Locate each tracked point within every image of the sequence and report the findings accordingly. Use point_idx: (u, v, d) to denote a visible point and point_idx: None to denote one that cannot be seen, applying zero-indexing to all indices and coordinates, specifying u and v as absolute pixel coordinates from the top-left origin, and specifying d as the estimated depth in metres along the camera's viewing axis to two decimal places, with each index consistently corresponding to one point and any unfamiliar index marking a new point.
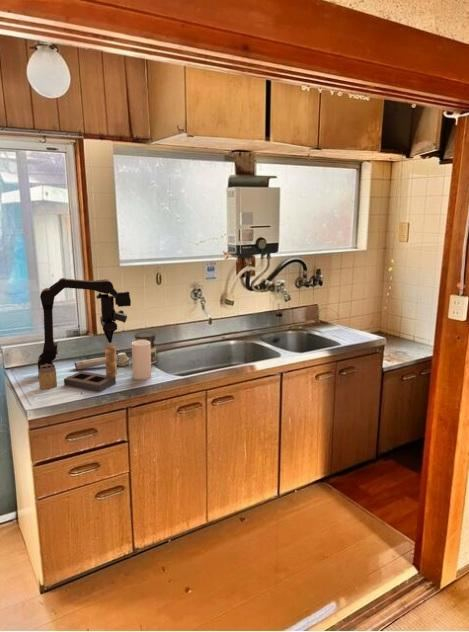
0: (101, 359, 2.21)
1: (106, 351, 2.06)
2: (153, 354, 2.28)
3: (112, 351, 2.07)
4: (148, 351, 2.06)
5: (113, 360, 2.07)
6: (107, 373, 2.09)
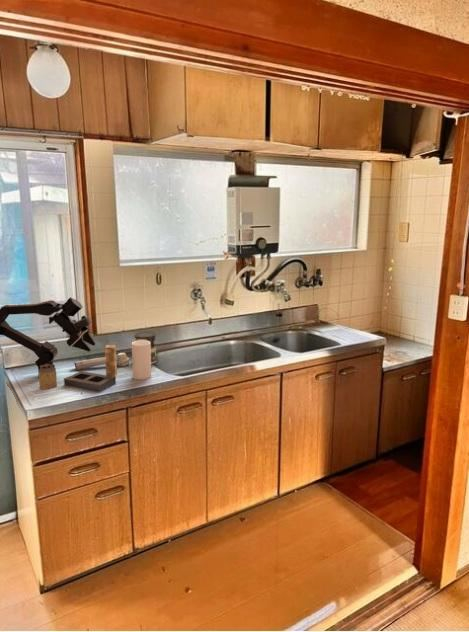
0: (101, 359, 2.21)
1: (106, 351, 2.06)
2: (153, 354, 2.28)
3: (112, 351, 2.07)
4: (148, 351, 2.06)
5: (113, 360, 2.07)
6: (107, 373, 2.09)
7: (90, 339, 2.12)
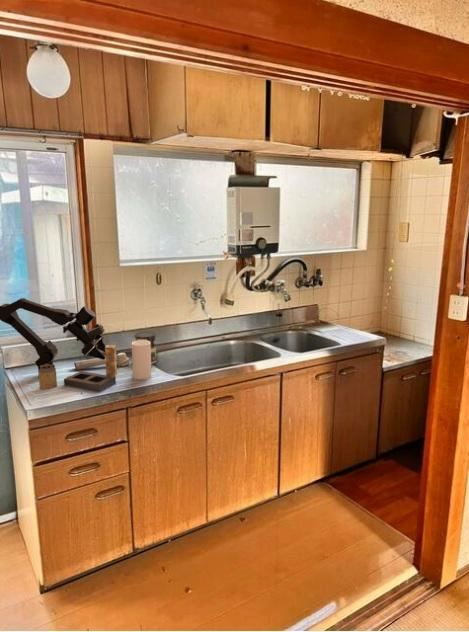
0: (101, 359, 2.21)
1: (106, 351, 2.06)
2: (153, 354, 2.28)
3: (112, 351, 2.07)
4: (148, 351, 2.06)
5: (113, 360, 2.07)
6: (107, 373, 2.09)
7: (104, 347, 2.13)
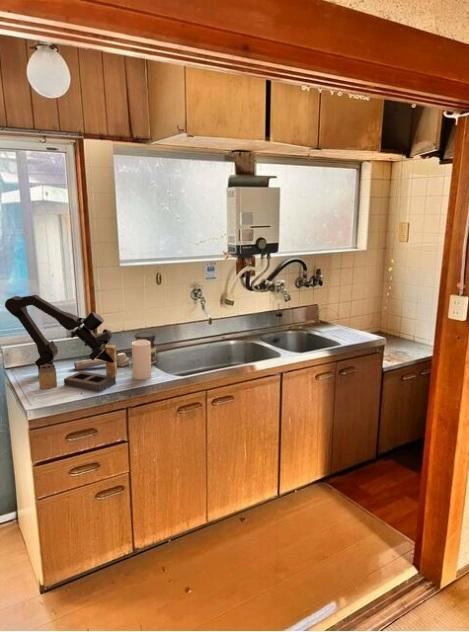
0: None
1: (106, 351, 2.06)
2: (153, 354, 2.28)
3: (112, 351, 2.07)
4: (148, 351, 2.06)
5: (113, 360, 2.07)
6: (107, 373, 2.09)
7: None
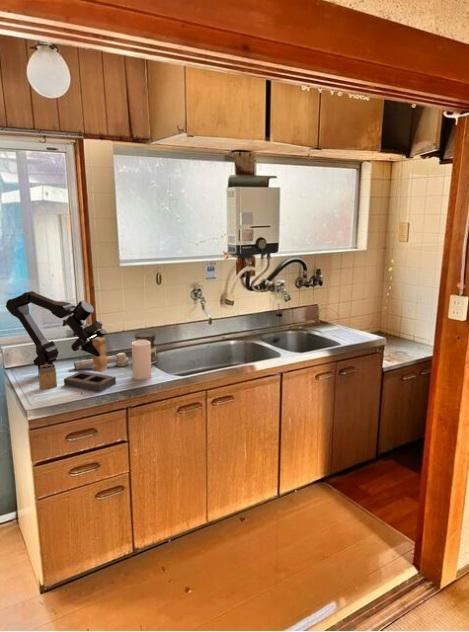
0: None
1: (93, 343, 1.95)
2: (153, 354, 2.28)
3: (98, 344, 1.95)
4: (148, 351, 2.06)
5: None
6: (94, 367, 1.98)
7: None
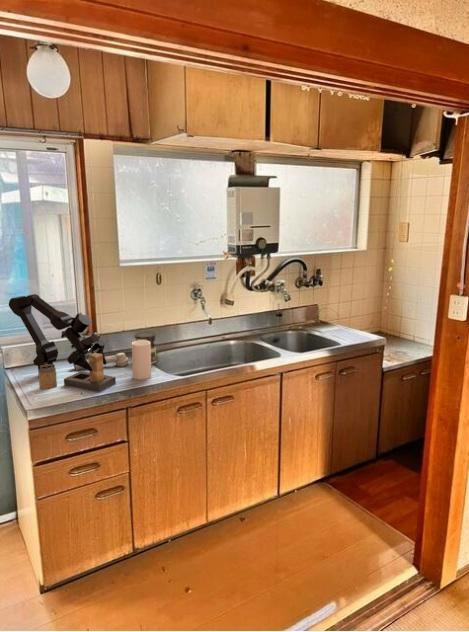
0: None
1: (90, 359, 1.95)
2: (153, 354, 2.28)
3: (95, 360, 1.94)
4: (148, 351, 2.06)
5: (96, 370, 1.95)
6: None
7: None
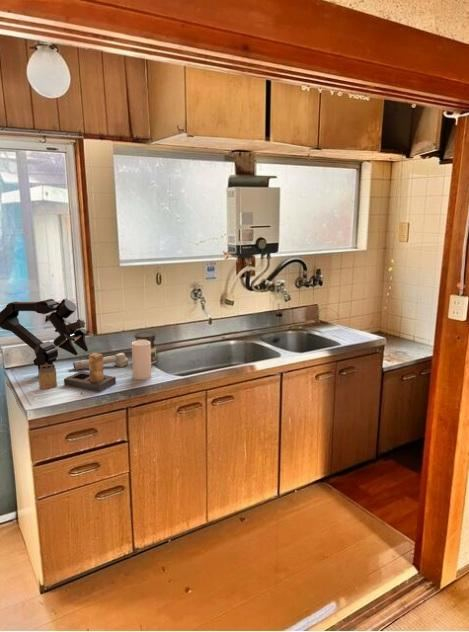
0: None
1: (90, 359, 1.95)
2: (153, 354, 2.28)
3: (95, 360, 1.94)
4: (148, 351, 2.06)
5: (96, 370, 1.95)
6: None
7: (83, 344, 2.05)
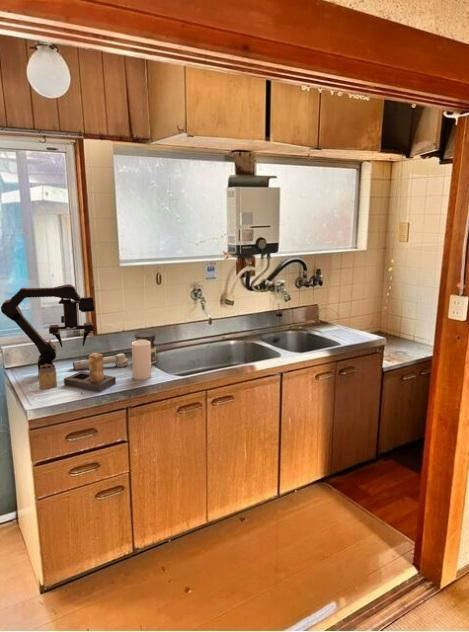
0: None
1: (90, 359, 1.95)
2: (153, 354, 2.28)
3: (95, 360, 1.94)
4: (148, 351, 2.06)
5: (96, 370, 1.95)
6: None
7: (61, 340, 2.09)
